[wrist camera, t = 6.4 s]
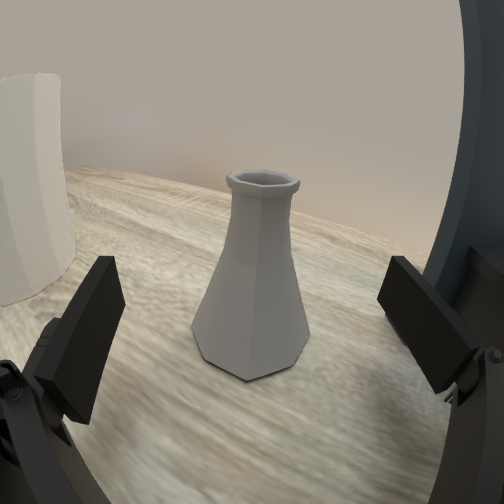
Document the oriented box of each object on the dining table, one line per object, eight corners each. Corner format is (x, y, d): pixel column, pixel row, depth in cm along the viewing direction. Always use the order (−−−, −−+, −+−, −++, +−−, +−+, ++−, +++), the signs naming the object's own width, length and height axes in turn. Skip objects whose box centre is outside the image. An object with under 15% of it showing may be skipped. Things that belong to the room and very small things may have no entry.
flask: (245, 402, 13) (261, 218, 8) (173, 326, 17) (156, 172, 12) (327, 338, 17) (368, 188, 12) (253, 287, 21) (263, 158, 17)
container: (58, 224, 30) (45, 92, 21) (98, 263, 23) (81, 64, 14) (-28, 265, 19) (-54, 123, 10) (-25, 328, 12) (-80, 110, 3)
